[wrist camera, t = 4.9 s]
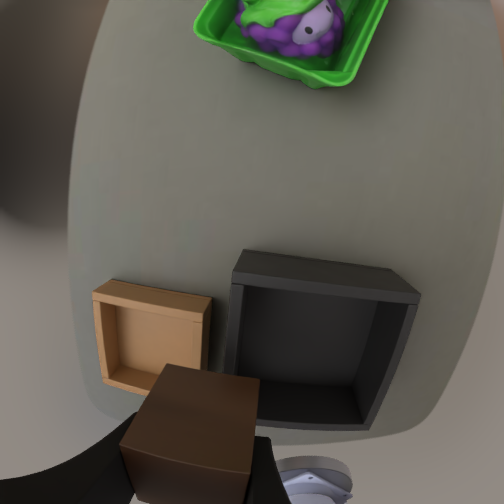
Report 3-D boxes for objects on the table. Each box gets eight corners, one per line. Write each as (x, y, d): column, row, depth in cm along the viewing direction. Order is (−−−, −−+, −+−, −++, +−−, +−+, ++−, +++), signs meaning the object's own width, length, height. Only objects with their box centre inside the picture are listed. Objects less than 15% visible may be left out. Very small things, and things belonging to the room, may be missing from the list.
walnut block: (249, 439, 12) (239, 522, 8) (169, 424, 13) (137, 500, 8) (260, 378, 12) (250, 474, 7) (166, 362, 12) (118, 444, 7)
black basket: (355, 389, 19) (368, 430, 15) (228, 377, 20) (218, 420, 15) (391, 269, 17) (421, 294, 13) (242, 249, 18) (232, 270, 13)
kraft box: (206, 386, 20) (199, 408, 18) (117, 365, 20) (103, 383, 18) (212, 297, 18) (203, 313, 16) (110, 279, 19) (91, 291, 16)
